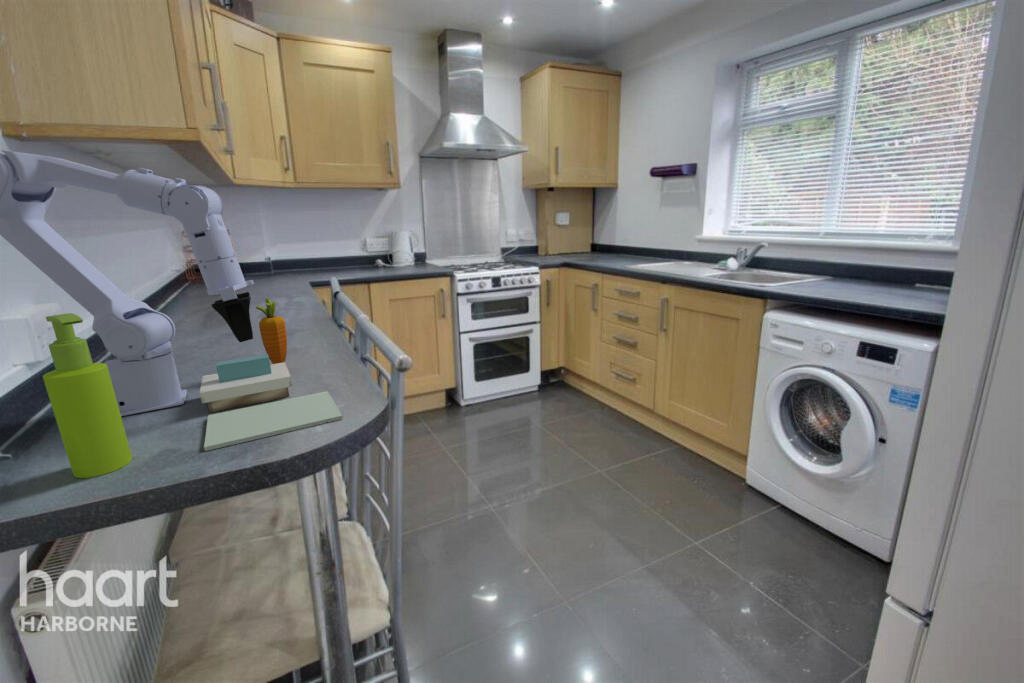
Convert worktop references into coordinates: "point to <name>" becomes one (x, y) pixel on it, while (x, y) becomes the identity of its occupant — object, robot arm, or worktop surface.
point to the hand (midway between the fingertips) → (246, 337)
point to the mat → (269, 419)
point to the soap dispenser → (84, 404)
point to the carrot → (273, 333)
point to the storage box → (248, 399)
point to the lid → (244, 378)
